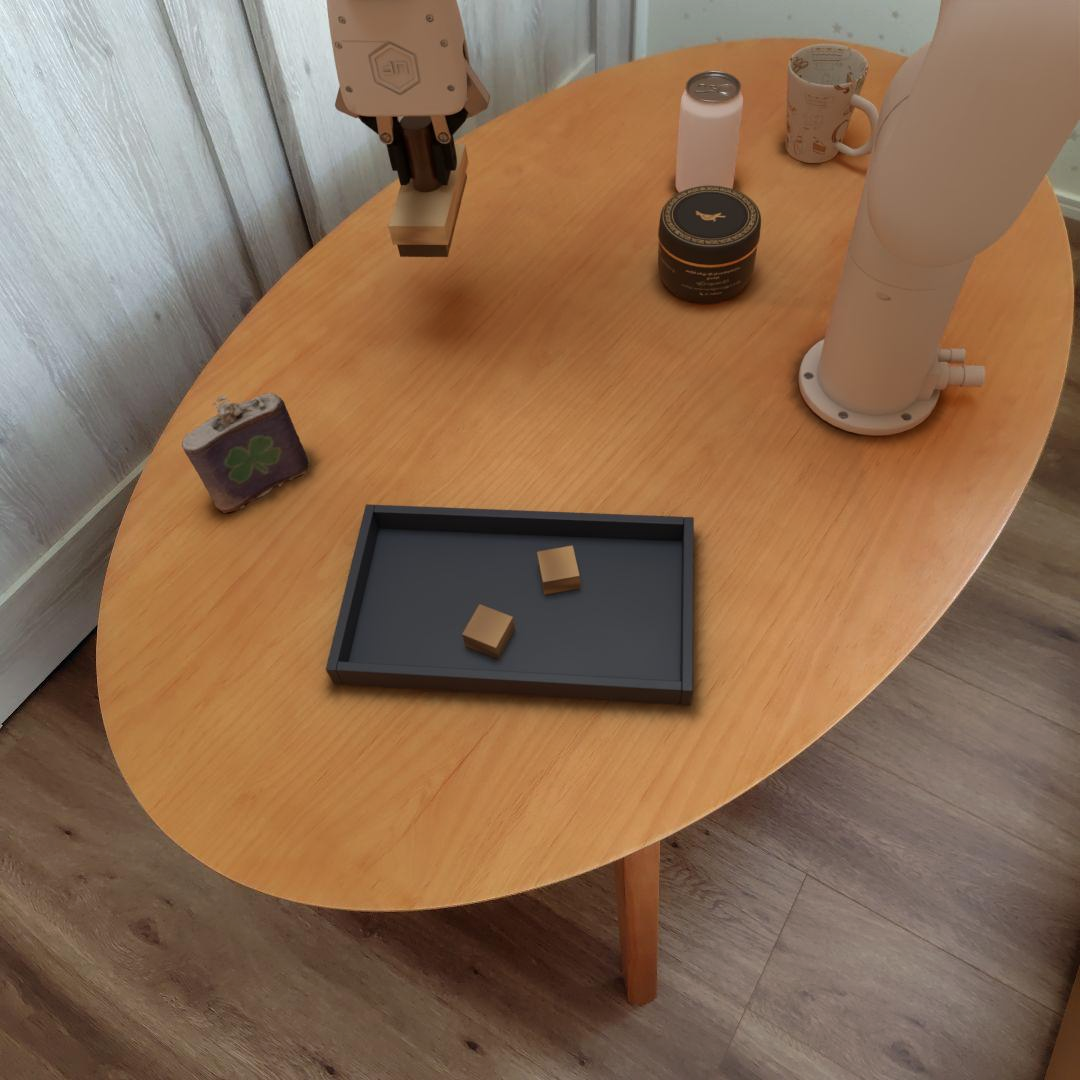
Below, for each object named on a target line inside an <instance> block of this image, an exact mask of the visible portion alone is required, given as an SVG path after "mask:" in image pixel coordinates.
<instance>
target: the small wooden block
mask: <svg viewBox="0 0 1080 1080" xmlns="http://www.w3.org/2000/svg"><path fill="white" fill-rule="evenodd" d="M514 630H515V625H514V620H513V617H512V616H509V615H507V614H504V613H502V612H499V611H497V610H494V609H491V608H489V607H486V606H484V605H481V604H479V606H478V607H477V609H476V611H475V613H474V614H473V616H472V618H471V619H470V621H469V623H468V625H467V626H466V628H465V630H464V632H463V633H462V636H463V640H464V643H465V646H466V647H469V648H471V649H474V650H476V651H479V652H481V653H484V654H486V655H488V656H491V657H493V658H496V659H499V658H500V656H501V654H502V652H503V650H504V649H505V647H506V645H507V643H508V641H509V639H510V638H511V636H512V634H513V632H514Z"/></svg>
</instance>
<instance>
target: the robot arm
mask: <svg viewBox="0 0 1080 1080" xmlns="http://www.w3.org/2000/svg"><path fill="white" fill-rule="evenodd" d="M326 10H327V19H328V25H329V27H328V28H329V34H330V40H331V41H330V42H331V47H332V53H333V58H334V64H335V70H336V75H337V79H338V85H339V87H338V90H337V94H336V98H335V102H334V107H335V109H336V110H337V111H338V112H340V113H343V114H345V115H348V116H349V117H352V118H354V119H359V120H360V122H361V123H362V124H364V125H365V126H366V127H367V128H369V129H370V130H372V131H373V132H374V133H375V134H376V135H378V139H379V141H380V142H381V143H382V144H384V145H386V150H387V153H388V159H389V162H390V165H391V170H392V171H393V172H397V176H398V177H397V178H398V181H399V185H400V186H401V185H407V184H409V182H410V179H411V175H410V170H409V166H408V161H407V156H406V152H405V147H404V142H403V138H402V133H401V129H400V117H404V116H431V120H432V124H433V127H434V131H435V133H434V140H433V144H432V151H433V156H434V161H435V166H436V172H437V177H438V182H439V184H441V185H447V184H448V181H449V177H450V173H451V171H455V170H456V166H457V156H456V150H455V144H456V143H455V139H454V138H455V137H454V135H455V133H456V132H457V131H458V130H459V129H460V128H462V125H464V123H465V122H466V121H467V120H468V119H469V118H472V117H475V116H476V115H478V114H480V113H482V112H483V111H486V110H487V109H488V107H489V104H490V100H491V95H490V93H489V92H488V90H487V88H486V87H485V85H484V84H483V82H482V81H481V79H480V78H479V76H478V74H477V73H476V72H475V70H474V69H473V67H472V66H471V65H472V64H471V59H470V58H471V57H470V52H469V47H468V43H467V37H466V33H465V28H464V23H463V19H462V16H461V11H460V7H459V4H458V0H326ZM935 26H936V27H935V30H934V33H933V36H932V38H931V41H929V42H927V43H925V44H924V45H922V46H921V47H920V48H918V49H917V50H916V51H915V52H913V53H912V54H911V55H910V56H909V57H908V58H907V59H906V60H905V61H904V62H903V64H902V65H901V66H900V67H899V69H898V70H897V72H896V73H895V74H894V76H893V78H892V79H891V80H890V83H889V85H888V87H887V89H886V92H885V94H884V97H883V100H882V103H881V107H880V109H879V118H878V123H877V128H876V133H875V138H874V143H873V147H872V151H871V153H870V156H869V160H868V165H867V170H866V174H865V178H864V183H863V186H862V191H861V195H860V199H859V203H858V207H857V212H856V215H855V219H854V224H853V227H852V231H851V234H850V238H849V241H848V245H847V249H846V253H845V257H844V260H843V265H842V269H841V272H840V277H839V281H838V285H837V288H836V293H835V297H834V302H833V305H832V308H831V313H830V315H829V316H830V317H829V321H828V324H827V329H826V332H825V336H824V338H823V339H820V340H819V341H817V342H816V343H815V344H813V345H812V346H811V347H810V348H809V349H808V350H807V352H806V353H805V355H804V356H803V358H802V361H801V364H800V367H799V372H798V388H799V391H800V395H801V396H802V398H803V400H804V402H805V404H806V405H807V406H808V407H809V408H810V409H811V411H812V412H813V413H814V414H816V415H817V416H818V417H819V418H821V419H822V420H823V421H825V422H826V423H828V424H830V425H832V426H834V427H836V428H839V429H840V430H843V431H846V432H849V433H854V434H858V435H865V436H875V437H876V436H890V435H896V434H901V433H904V432H905V431H908V430H911V429H914V428H915V427H916V426H918V425H920V424H921V423H923V422H924V421H925V420H926V419H927V418H928V417H929V416H931V413H932V412H933V410H934V409H935V407H936V405H937V403H938V399H939V397H940V392H941V390H945V389H946V388H947V386H959V387H960V388H982V387H983V386H984V383H985V381H986V367H985V366H984V365H971V364H970V365H969V364H966V365H965V364H964V363H965V362H966V358H967V357H966V356H967V351H966V349H965V348H952V347H951V348H940V345H941V343H942V341H943V338H944V335H945V332H946V330H947V327H948V326H949V322H950V321H951V317H952V314H953V312H954V310H955V307H956V305H957V302H958V299H959V297H960V294H961V292H962V289H963V287H964V285H965V281H966V279H967V277H968V274H969V271H970V270H971V267H972V266H973V263H974V260H975V258H976V256H978V255H980V254H982V253H983V252H985V251H986V250H988V249H990V247H992V246H993V245H994V244H996V242H998V241H999V240H1000V239H1001V238H1002V237H1003V236H1004V235H1006V233H1007V232H1008V231H1009V230H1010V229H1011V227H1012V226H1013V225H1014V224H1015V223H1016V221H1017V220H1018V219H1019V218H1020V216H1021V214H1022V213H1023V212H1024V210H1025V208H1026V207H1027V205H1028V204H1029V203H1030V201H1031V200H1032V198H1033V196H1034V195H1035V193H1036V191H1037V190H1038V188H1039V187H1040V185H1041V184H1042V182H1043V180H1044V179H1045V177H1046V176H1047V174H1048V172H1049V171H1050V169H1051V168H1052V166H1053V164H1054V162H1055V161H1056V160H1057V158H1058V156H1059V154H1060V153H1061V151H1062V149H1063V148H1064V146H1065V145H1066V143H1067V141H1068V140H1069V138H1070V137H1071V135H1072V134H1073V131H1074V130H1075V128H1076V127H1077V125H1078V124H1079V122H1080V0H940V5H939V11H938V17H937V22H936V25H935ZM949 364H962V365H949Z"/></svg>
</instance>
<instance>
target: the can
mask: <svg viewBox="0 0 1080 1080" xmlns="http://www.w3.org/2000/svg"><path fill="white" fill-rule="evenodd" d="M741 89H742V83H741V81H740V80H739V78H737V77H736V76H735V75H733V74H731V73H728V72H727V71H720V70H706V71H702V72H698V73H695V74H694V75H692V76H691V77H690V78H688V80H687V81H686V83H685V89H684V91H683V93H682V95H681V98H680V105H679V119H678V120H679V121H678V132H677V133H678V135H677V148H676V149H677V151H676V168H675V188H676V191H677V193H679V192H681V191H684V190H686V189H689V188H693V187H698V186H722V187H727V188H731V189H733V188H734V181H735V174H736V167H737V158H738V152H739V151H738V150H739V143H740V142H739V141H740V135H741V125H742V116H743V107H744V98H743V93H742V91H741Z"/></svg>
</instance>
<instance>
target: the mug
mask: <svg viewBox="0 0 1080 1080" xmlns="http://www.w3.org/2000/svg"><path fill="white" fill-rule="evenodd" d="M868 71H869V63H868V60H867V58H866V57H865V56H864V55H863V54H862V53H861V52H859V51H858V50H856V49H854V48H852V47H849V46H846V45H842V44H836V43H815V44H811V45H807V46H805V47H802V48H800V49H798V50H797V51H796V52H794V53H793V54H792V55H791V57H790V59H789V60H788V64H787V82H786V83H787V88H786V119H785V149H786V152H787V154H788V155H789V156H790V157H791V158H792V159H794V160H797V161H799V162H802V163H808V164H821V163H825V162H828V161H830V160H832V159H834V158H835V157H836V156H837V155H838V153H839V152H840V153H842V154H843V155H845V156H847V157H849V158H856V159H857V158H861V157H865V156H868V155H871V151H872V147H873V143H874V138H875V133H876V128H877V123H878V118H879V114H880V112H879V110H878V109H877V107H876V106H875V105H874V104H873V103H872V102H871V101H869V100H868V99H867V98H865V97H862V96H861V95H860V94H861V92H862V89H863V86H864V83H865V81H866V78H867V76H868ZM855 109H857V110H859V111H862V112H863V113H864V114H865V115H866V116H867V119H868V120H869V124H870V136H869V139H868V140H867V142H865V144H863V145H862V146H860V147H858V148H852V147H850V146H848V145H846V144H844V143H843V141H844V138H845V135H846V132H847V130H848V127H849V125H850V121H851V120H852V116H853V113H854V110H855Z"/></svg>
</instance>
